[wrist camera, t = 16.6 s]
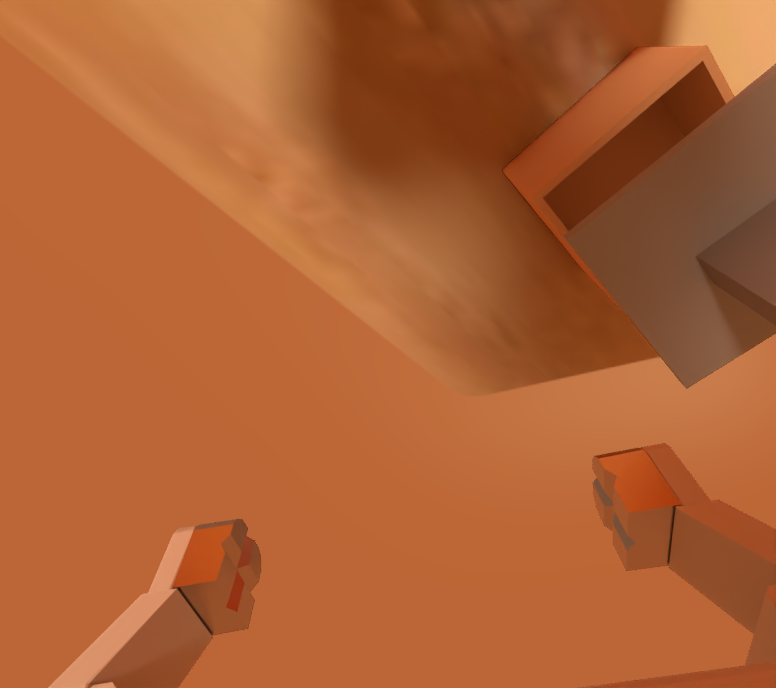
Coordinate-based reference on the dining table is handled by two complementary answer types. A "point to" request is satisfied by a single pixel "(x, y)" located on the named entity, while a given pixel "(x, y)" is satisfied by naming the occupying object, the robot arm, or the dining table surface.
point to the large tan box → (617, 134)
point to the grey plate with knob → (697, 239)
